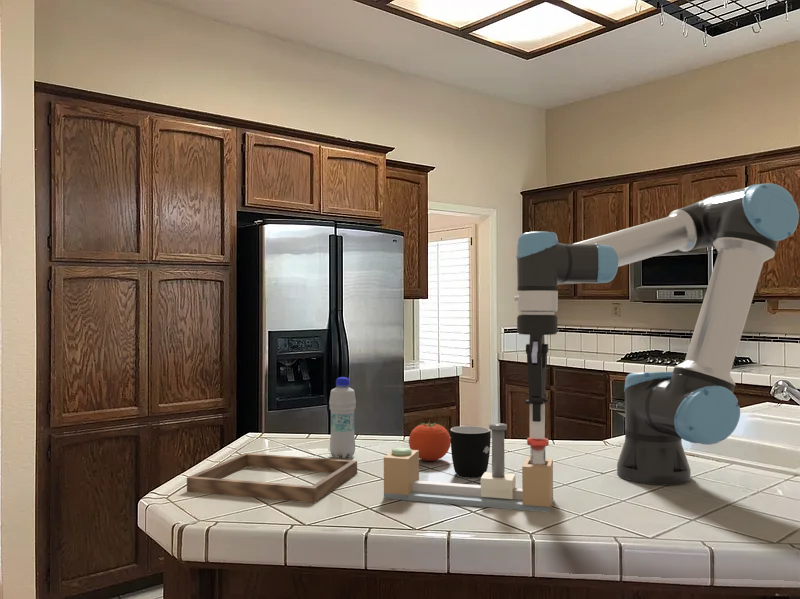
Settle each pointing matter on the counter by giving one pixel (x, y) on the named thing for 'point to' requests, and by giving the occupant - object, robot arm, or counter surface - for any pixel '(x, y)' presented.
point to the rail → (465, 485)
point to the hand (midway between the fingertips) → (537, 437)
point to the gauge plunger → (537, 450)
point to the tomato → (430, 441)
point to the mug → (470, 450)
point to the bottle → (342, 419)
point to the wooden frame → (215, 485)
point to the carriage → (497, 468)
